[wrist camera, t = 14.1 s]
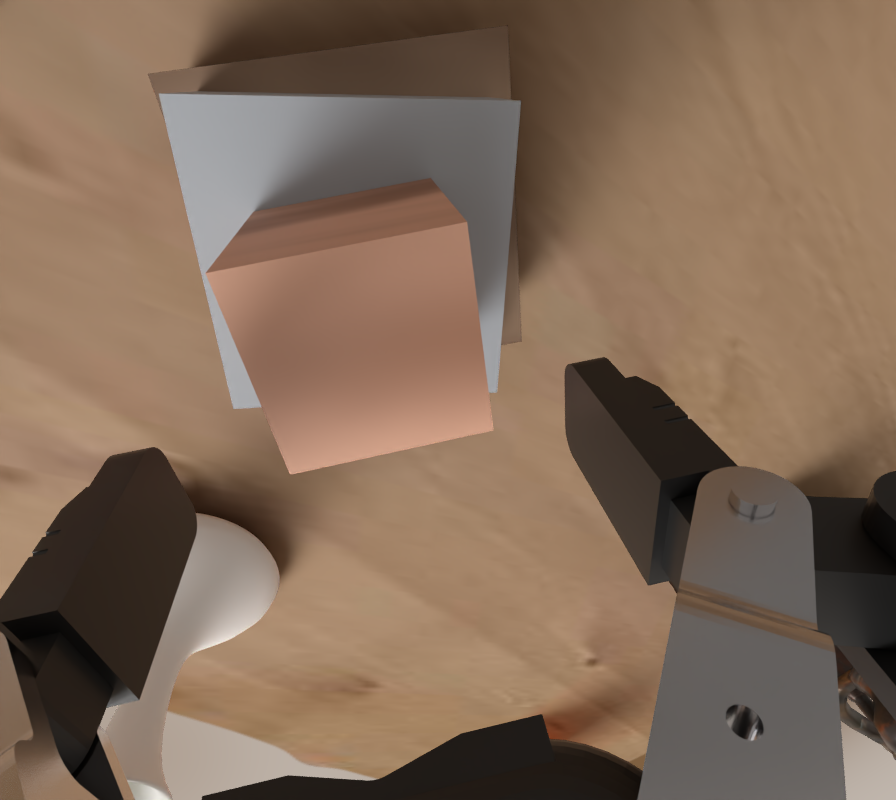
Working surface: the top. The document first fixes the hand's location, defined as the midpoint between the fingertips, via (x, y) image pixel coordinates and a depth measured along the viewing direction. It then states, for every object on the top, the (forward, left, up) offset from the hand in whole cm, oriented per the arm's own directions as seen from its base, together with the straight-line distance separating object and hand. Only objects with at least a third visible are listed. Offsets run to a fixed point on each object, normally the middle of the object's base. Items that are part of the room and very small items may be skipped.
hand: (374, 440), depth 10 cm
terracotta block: (0, 0, -9) cm, 9 cm away
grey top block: (-1, 0, -13) cm, 13 cm away
